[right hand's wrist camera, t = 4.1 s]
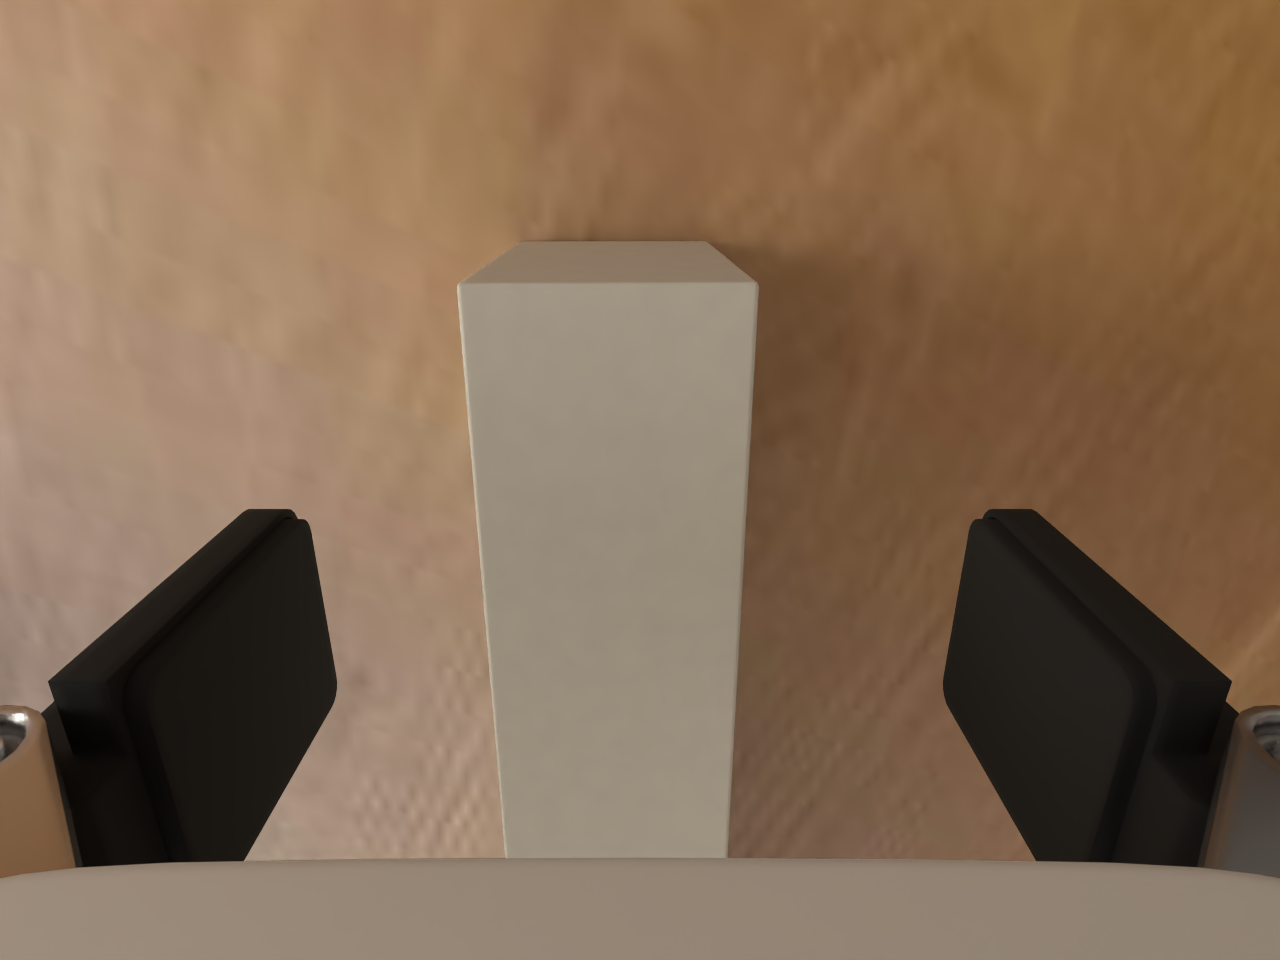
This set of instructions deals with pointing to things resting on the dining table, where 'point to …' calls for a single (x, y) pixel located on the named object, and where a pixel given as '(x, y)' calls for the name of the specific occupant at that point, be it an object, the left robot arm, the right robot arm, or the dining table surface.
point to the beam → (611, 537)
